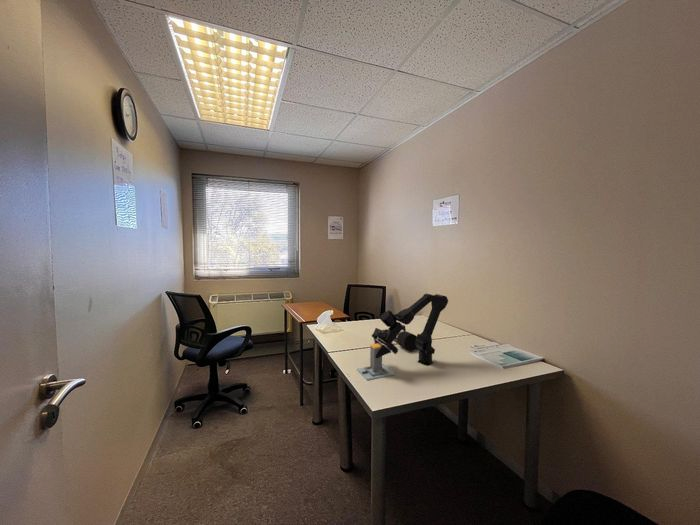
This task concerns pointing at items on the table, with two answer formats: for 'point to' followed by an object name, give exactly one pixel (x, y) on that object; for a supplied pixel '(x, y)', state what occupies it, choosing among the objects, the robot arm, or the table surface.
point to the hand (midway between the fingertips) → (373, 356)
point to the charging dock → (375, 372)
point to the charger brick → (375, 362)
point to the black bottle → (407, 340)
